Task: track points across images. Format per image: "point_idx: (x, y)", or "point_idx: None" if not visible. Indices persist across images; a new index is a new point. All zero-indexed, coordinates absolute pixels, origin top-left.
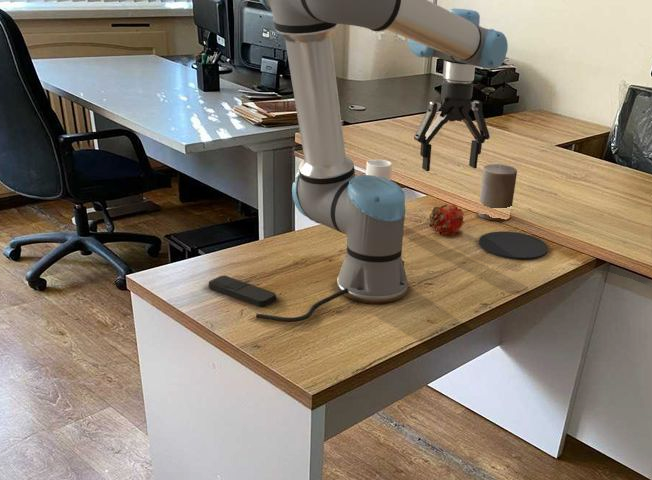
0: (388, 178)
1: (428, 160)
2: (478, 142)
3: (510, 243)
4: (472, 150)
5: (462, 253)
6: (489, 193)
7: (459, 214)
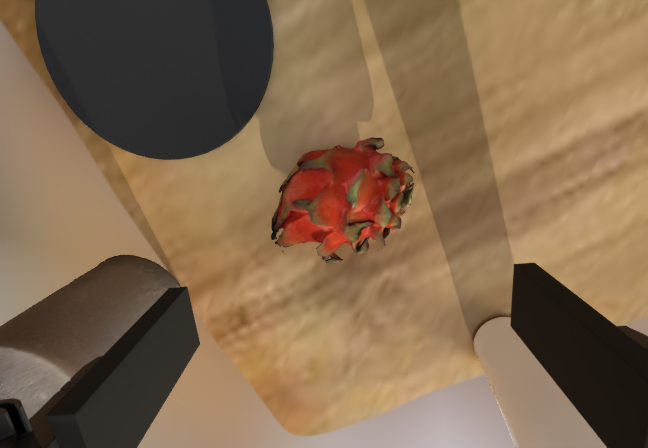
0: (554, 411)
1: (570, 299)
2: (52, 429)
3: (162, 45)
4: (144, 399)
5: (360, 2)
6: (126, 319)
7: (306, 178)
